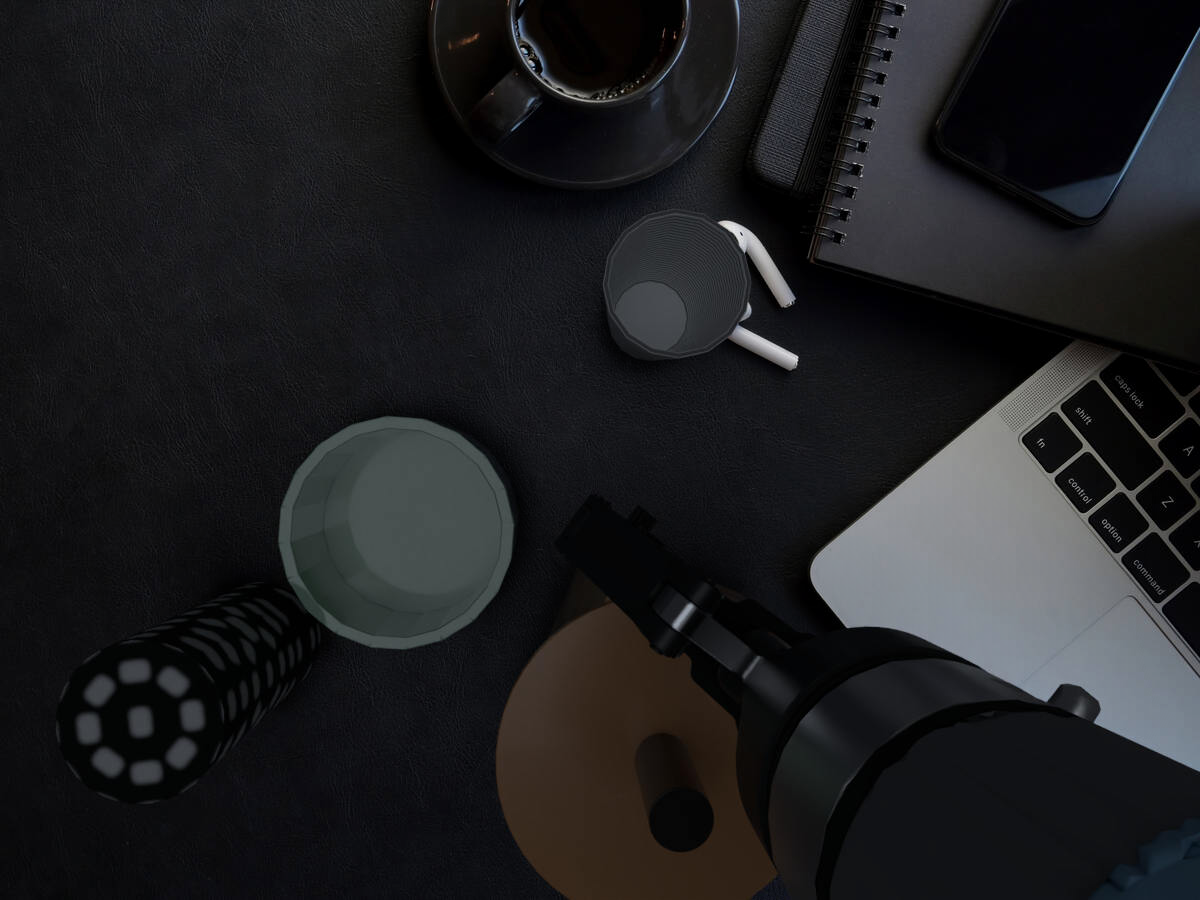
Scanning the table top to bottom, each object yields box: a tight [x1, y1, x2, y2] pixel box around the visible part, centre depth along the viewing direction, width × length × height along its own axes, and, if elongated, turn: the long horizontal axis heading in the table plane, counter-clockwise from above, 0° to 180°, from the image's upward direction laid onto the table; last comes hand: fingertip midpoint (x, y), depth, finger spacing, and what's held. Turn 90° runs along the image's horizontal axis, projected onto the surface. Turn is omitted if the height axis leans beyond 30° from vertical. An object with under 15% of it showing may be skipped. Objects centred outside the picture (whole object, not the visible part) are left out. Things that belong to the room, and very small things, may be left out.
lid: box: [495, 601, 779, 900], centre depth 41 cm, size 16×16×8 cm
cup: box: [602, 208, 752, 362], centre depth 61 cm, size 8×8×16 cm
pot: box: [277, 415, 520, 651], centre depth 63 cm, size 15×15×9 cm
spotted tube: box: [55, 581, 322, 805], centre depth 57 cm, size 8×8×20 cm
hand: (736, 636), depth 44 cm, fingers open, 13 cm apart
